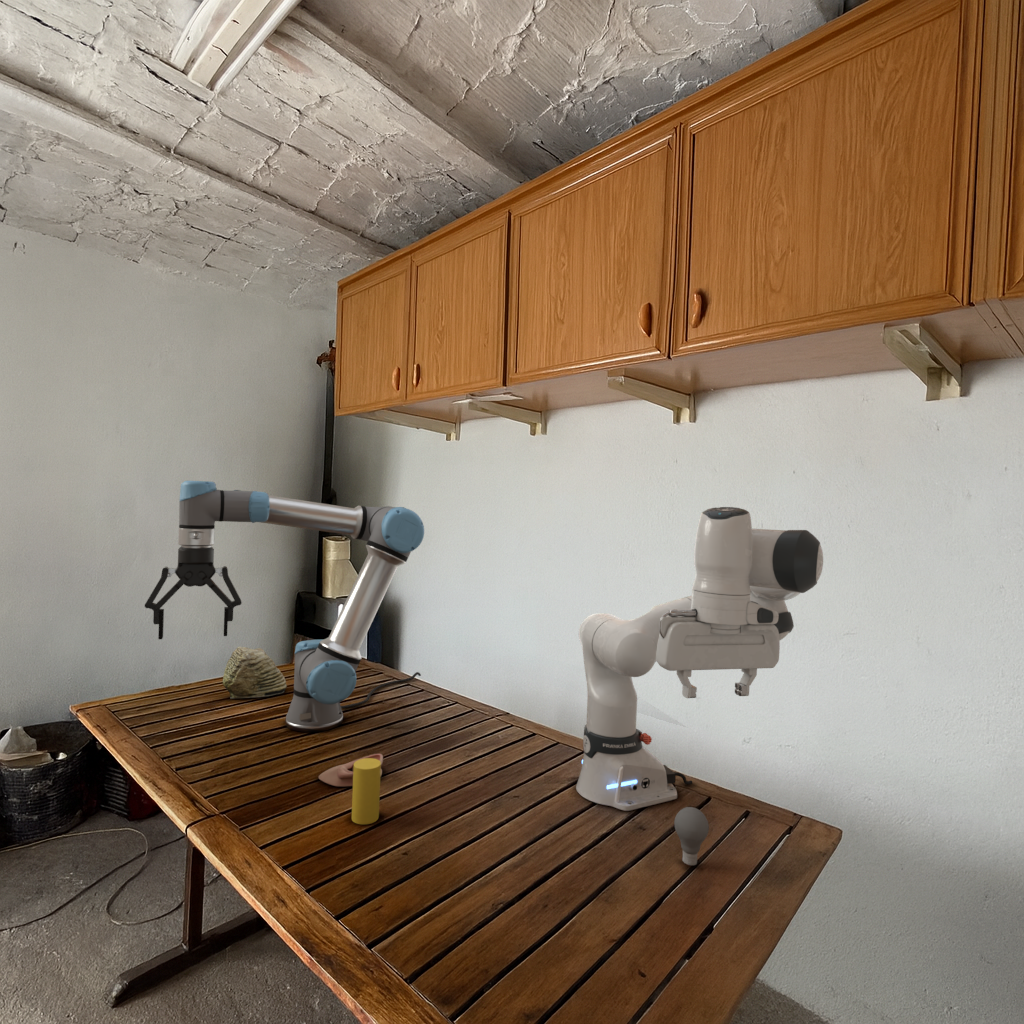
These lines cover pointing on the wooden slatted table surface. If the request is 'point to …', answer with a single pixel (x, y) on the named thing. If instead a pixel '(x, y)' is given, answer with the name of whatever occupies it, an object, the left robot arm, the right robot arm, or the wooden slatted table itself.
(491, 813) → the wooden slatted table surface
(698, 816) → the light bulb
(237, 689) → the fossil
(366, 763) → the cylinder
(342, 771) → the anatomical model
